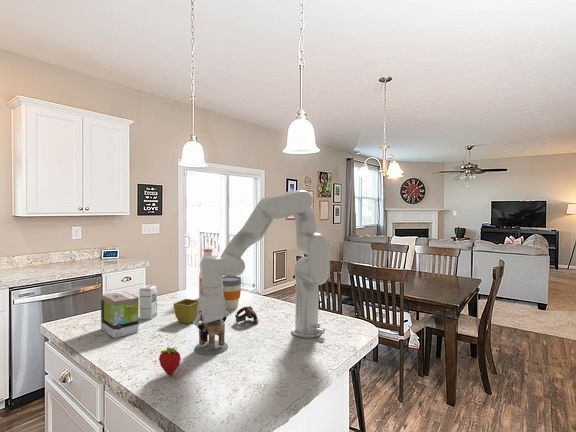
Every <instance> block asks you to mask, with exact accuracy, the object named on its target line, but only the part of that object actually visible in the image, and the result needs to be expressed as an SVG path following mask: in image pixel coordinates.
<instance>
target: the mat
mask: <svg viewBox="0 0 576 432" xmlns="http://www.w3.org/2000/svg"><path fill="white" fill-rule="evenodd" d="M228 346H229V345H228V343H227V342H225V341H224V345H223V346H220V345H219V339H218V340H216V339H215V349H213V350H210V349H209V340H208V341H207V342H205V344H204V345H199V343H197V344H196V345H195V346H194V351H195V353H197V354H199V355H202V356H214V355H219V354H221V353H224V352H225V351H227V350H228V348H229V347H228Z"/></svg>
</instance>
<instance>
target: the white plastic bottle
mask: <svg viewBox="0 0 576 432" xmlns="http://www.w3.org/2000/svg"><path fill="white" fill-rule="evenodd" d="M213 252H214V251H213V248H204V249H203V255H202V259H203V258H204V257H207V256H214V255H213ZM202 259H201V260H200V262H199V268H200V269H199V270H200V271H199V275H198V282H199V283H198V297H199V296H200V294H202Z"/></svg>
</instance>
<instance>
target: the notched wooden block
mask: <svg viewBox="0 0 576 432" xmlns="http://www.w3.org/2000/svg"><path fill="white" fill-rule="evenodd" d="M199 323H200V324H201V322H199ZM203 327H204V326H203ZM225 327H226V323H225V322H224V323H222V322H219V321H213V322H210V323H208V326H207V329H206V331H208V341H209V349H210V350H213V349H215V340H216V339H215V338H216V336H218V335H217V334H219V336H218V341H219V345H220V346H223V345H224V342H225V333H226V329H225ZM198 336H199V337H198V340H199V341H198V344H199V345H204V344H205V342H204V341H202V340H201V330H199V329H198Z"/></svg>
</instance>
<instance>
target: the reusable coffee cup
mask: <svg viewBox="0 0 576 432" xmlns="http://www.w3.org/2000/svg"><path fill="white" fill-rule="evenodd" d="M222 285H224V288H222V292H223V293H224V298H225V309H231V310H236V309H238V307H239V300H240V298H241V291H242V288H241V285H242V278H241V277H240V276H223V284H222ZM235 308H236V309H235Z"/></svg>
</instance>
